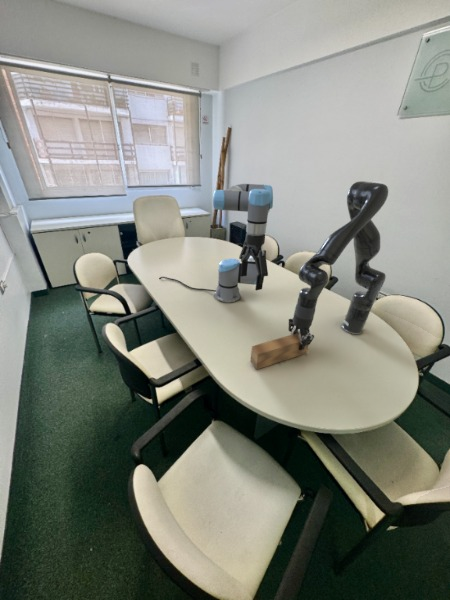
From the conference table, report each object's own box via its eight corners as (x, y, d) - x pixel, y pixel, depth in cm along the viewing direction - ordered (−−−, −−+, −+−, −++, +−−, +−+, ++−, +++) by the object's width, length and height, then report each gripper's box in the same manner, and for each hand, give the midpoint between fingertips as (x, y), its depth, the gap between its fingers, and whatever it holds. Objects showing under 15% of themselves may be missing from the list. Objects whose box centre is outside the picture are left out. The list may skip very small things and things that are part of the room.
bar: (256, 369, 98) (258, 354, 94) (250, 361, 102) (251, 346, 97) (306, 353, 107) (310, 338, 102) (299, 346, 111) (302, 331, 106)
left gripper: (282, 242, 85) (274, 294, 96) (249, 224, 104) (245, 269, 115) (264, 244, 82) (257, 297, 93) (233, 225, 102) (231, 272, 113)
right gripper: (324, 321, 92) (314, 354, 101) (300, 302, 103) (293, 333, 112) (308, 325, 90) (300, 358, 98) (285, 306, 101) (280, 337, 110)
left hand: (250, 282), depth 104 cm, fingers open, 13 cm apart
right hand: (296, 345), depth 105 cm, fingers closed on bar, 5 cm apart
